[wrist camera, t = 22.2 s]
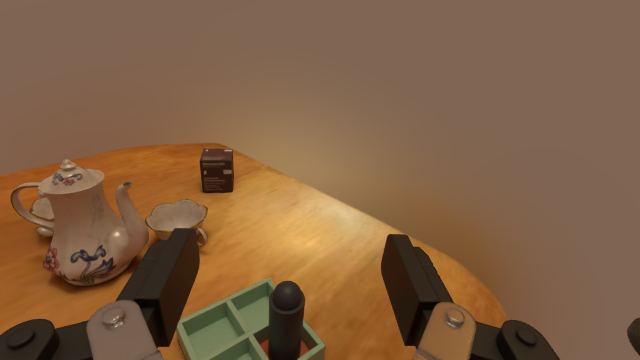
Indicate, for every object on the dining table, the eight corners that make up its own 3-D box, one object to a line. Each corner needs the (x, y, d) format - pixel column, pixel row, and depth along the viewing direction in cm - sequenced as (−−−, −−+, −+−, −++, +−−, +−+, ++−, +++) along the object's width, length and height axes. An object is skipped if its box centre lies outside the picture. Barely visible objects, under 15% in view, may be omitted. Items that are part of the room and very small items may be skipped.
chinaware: (222, 231, 55) (218, 141, 49) (187, 300, 40) (176, 180, 34) (57, 222, 54) (32, 127, 47) (-45, 290, 38) (-102, 162, 32)
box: (202, 193, 63) (198, 160, 60) (205, 179, 68) (202, 148, 65) (233, 192, 64) (231, 160, 61) (234, 178, 70) (232, 148, 66)
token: (306, 356, 34) (313, 289, 29) (279, 375, 32) (282, 306, 27) (288, 333, 36) (292, 267, 32) (262, 349, 34) (262, 281, 29)
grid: (323, 362, 34) (326, 345, 33) (220, 440, 27) (218, 422, 26) (268, 293, 42) (268, 276, 41) (177, 339, 35) (174, 321, 34)
